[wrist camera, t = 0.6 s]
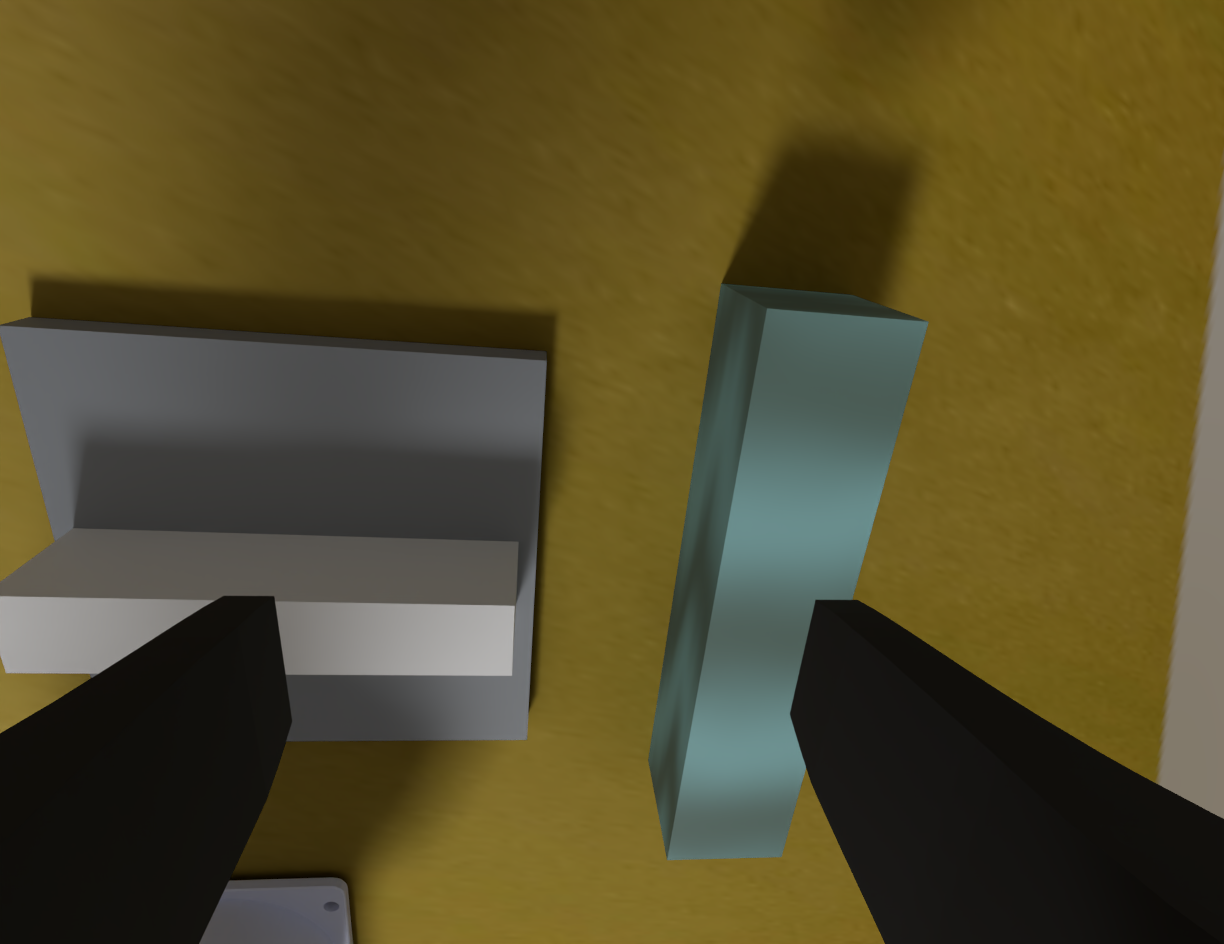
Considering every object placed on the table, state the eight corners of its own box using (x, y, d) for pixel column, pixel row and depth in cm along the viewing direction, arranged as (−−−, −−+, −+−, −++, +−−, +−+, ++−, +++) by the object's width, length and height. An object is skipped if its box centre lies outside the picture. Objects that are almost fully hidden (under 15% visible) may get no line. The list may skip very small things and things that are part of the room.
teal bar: (744, 753, 24) (781, 856, 20) (647, 753, 23) (667, 859, 20) (847, 293, 18) (928, 321, 14) (718, 281, 17) (767, 308, 13)
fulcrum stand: (527, 716, 22) (524, 824, 18) (127, 717, 20) (36, 834, 17) (546, 351, 17) (548, 396, 13) (29, 317, 16) (-127, 358, 12)
